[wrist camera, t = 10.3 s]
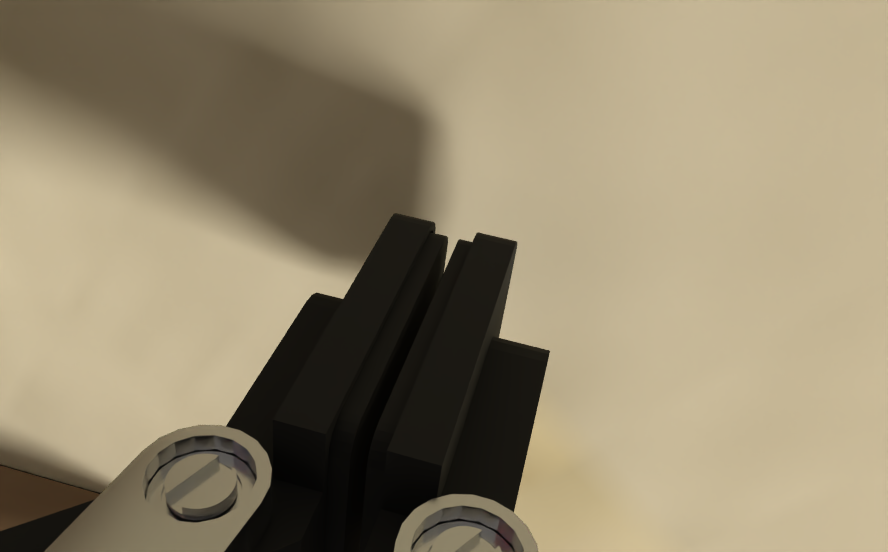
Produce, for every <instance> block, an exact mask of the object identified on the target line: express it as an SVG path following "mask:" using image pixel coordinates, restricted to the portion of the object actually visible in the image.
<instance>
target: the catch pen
mask: <svg viewBox="0 0 888 552" xmlns="http://www.w3.org/2000/svg"><path fill="white" fill-rule="evenodd" d="M99 495H100V494H98V493H94V492H91V491H87V490H84V489H80V488H77V487H73V486H70V485H66V484H63V483H59V482H56V481H52V480H49V479H45V478H42V477H38V476H35V475H31V474H28V473H24V472H21V471H17V470H14V469H10V468H7V467H3V466H0V531H2V530H5V529H8V528H11V527H14V526H17V525H20V524H23V523H26V522H29V521H32V520H35V519H38V518H41V517H44V516H47V515H50V514H53V513H56V512H59V511H62V510H65V509H68V508H71V507H74V506H76V505H79V504H82V503H85V502H88V501H91V500H94V499H96V498H97V497H98V496H99Z"/></svg>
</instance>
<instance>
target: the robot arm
mask: <svg viewBox="0 0 888 552" xmlns="http://www.w3.org/2000/svg"><path fill="white" fill-rule="evenodd" d="M447 245H448V237H447V236H443V235H439V234H435V223H434V222H431V221H426V220H422V219H418V218H414V217H409V216H405V215H401V214H394V215H393V216H392V217H391V219H390V220H389V222H388V224H387V225H386V227H385V229H384V231H383V232H382V234H381V236H380V237H379V239H378V241H377V243H376V244H375V246H374V248H373V249H372V251H371V253H370V254H369V256H368V258H367V260H366V261H365V263H364V265H363V266H362V268H361V270H360V272H359V273H358V275H357V277H356V278H355V280H354V282H353V283H352V285H351V287H350V289H349V290H348V292H347V294H346V295H345V297H344V299H340V298H336V297H332V296H328V295H324V294H320V293H315V294H313V295H311V297H310V298H309V299H308V300H307V302H306V303H305V305H304V306H303V308H302V309H301V311H300V312H299V314H298V316H297V317H296V319H295V320H294V322H293V323H292V325H291V326H290V328H289V329H288V331H287V333H286V334H285V336H284V337H283V339H282V340H281V342H280V343H279V345H278V347H277V348H276V350H275V351H274V353H273V354H272V356H271V357H270V359H269V360H268V362H267V364H266V365H265V367H264V368H263V370H262V371H261V373H260V374H259V376H258V378H257V379H256V381H255V382H254V384H253V385H252V387H251V388H250V390H249V391H248V393H247V395H246V396H245V398H244V399H243V401H242V402H241V404H240V405H239V407H238V409H237V410H236V412H235V413H234V415H233V416H232V418H231V419H230V421H229V422H228V424H227V426H222V425H197V426H192V427H187V428H182V429H178V430H176V431H174V432H172V433H169V434H167V435H165V436H163V437H160V438H159V439H157V440H156V441H155V442H153V443H152V444H151V445H150V446H148V447H147V448H146V449H144V450H143V451H142V452H141V453H140V454H139V455H138V456H137V457H136V458H135V459H134V460H133V461H132V462H131V463H130V464H129V465H128V466H127V467H126V468H125V469H124V470H123V471H122V472H121V473H120V475H119V476H118V477H117V478H116V479H115V480H114V481H113V482H112V483H111V484H110V485H109V486H108V487H107V488H106V489H105V490H104V491H103V492H102V493H101V494H100V495H99V496H98V497H97V498H96V499H94V500H91V501H88V502H85V503H82V504H79V505H76V506H74V507H71V508H68V509H65V510H62V511H59V512H56V513H53V514H50V515H47V516H44V517H41V518H38V519H35V520H32V521H29V522H26V523H23V524H20V525H17V526H14V527H11V528H8V529H5V530H2V531H0V552H538V546H537V543H536V541H535V539H534V538H533V536H532V534H531V532H530V530H529V528H528V527H527V525H526V524H525V523H524V522H523V521H522V520H521V519H520V518H519V517H518V516H517V515H516V514H515V513H514V509H515V504H516V500H517V495H518V491H519V486H520V482H521V478H522V473H523V469H524V464H525V460H526V455H527V451H528V446H529V442H530V438H531V433H532V429H533V424H534V420H535V415H536V411H537V406H538V402H539V398H540V393H541V389H542V384H543V380H544V375H545V371H546V366H547V362H548V357H549V353H550V351H549V350H545V349H541V348H537V347H533V346H529V345H525V344H521V343H517V342H513V341H509V340H505V339H501V338H499V334H500V329H501V324H502V319H503V314H504V309H505V304H506V299H507V294H508V289H509V284H510V279H511V274H512V269H513V264H514V259H515V254H516V249H517V242H516V241H512V240H508V239H504V238H499V237H495V236H491V235H486V234H482V233H477V234H476V236H475V238H474V240H473V242H469V241H465V240H458V242H457V244H456V247H455V249H454V251H453V253H452V256H451V258H450V260H449V263H448V265H447V267H446V269H445V272H444V267H445V259H446V252H447Z"/></svg>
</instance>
